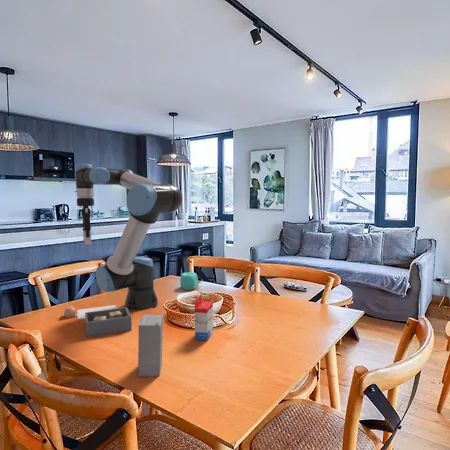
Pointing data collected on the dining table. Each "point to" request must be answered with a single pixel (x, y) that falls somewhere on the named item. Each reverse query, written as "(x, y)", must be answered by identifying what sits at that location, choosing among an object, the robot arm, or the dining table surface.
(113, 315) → the block
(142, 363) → the skincare box
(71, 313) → the lid
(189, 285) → the decorative dice
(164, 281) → the dining table surface
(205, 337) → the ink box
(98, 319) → the block
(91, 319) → the tub
